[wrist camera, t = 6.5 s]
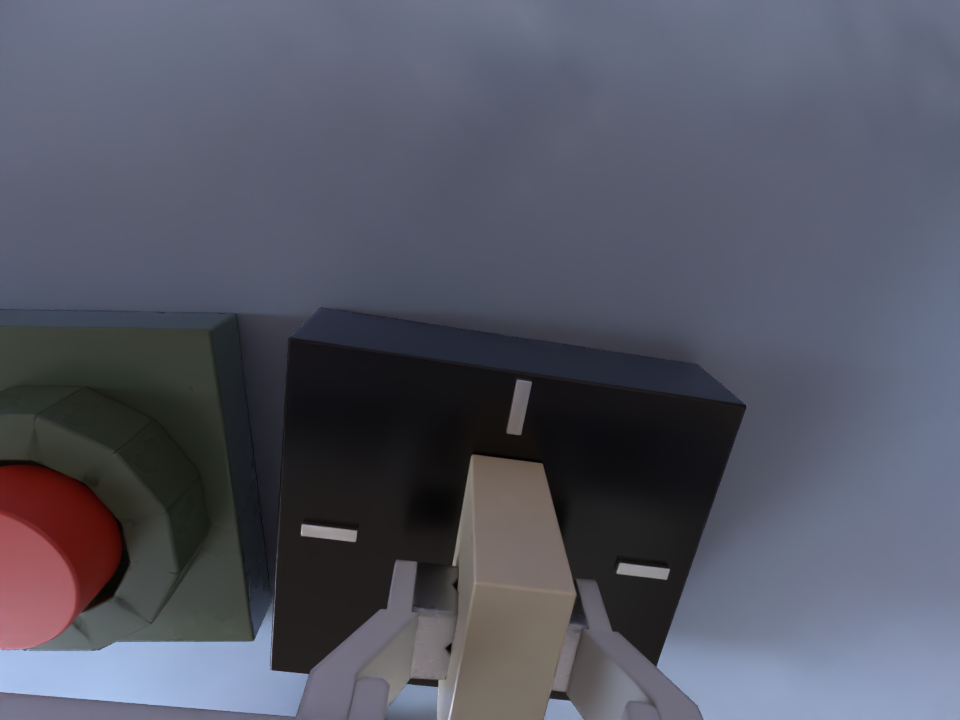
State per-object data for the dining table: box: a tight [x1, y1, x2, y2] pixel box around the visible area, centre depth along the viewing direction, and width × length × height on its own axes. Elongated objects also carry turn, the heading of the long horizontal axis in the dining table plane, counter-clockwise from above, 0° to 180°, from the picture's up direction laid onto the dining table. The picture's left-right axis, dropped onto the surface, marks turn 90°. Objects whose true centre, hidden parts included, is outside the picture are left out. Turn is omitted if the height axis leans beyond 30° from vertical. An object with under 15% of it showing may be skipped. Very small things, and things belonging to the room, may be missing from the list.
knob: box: [437, 455, 577, 720], centre depth 12 cm, size 6×2×5 cm, turn 171°
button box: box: [0, 309, 271, 651], centre depth 15 cm, size 10×8×4 cm
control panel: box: [270, 308, 746, 701], centre depth 16 cm, size 11×10×3 cm
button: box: [0, 464, 122, 650], centre depth 13 cm, size 4×4×2 cm
